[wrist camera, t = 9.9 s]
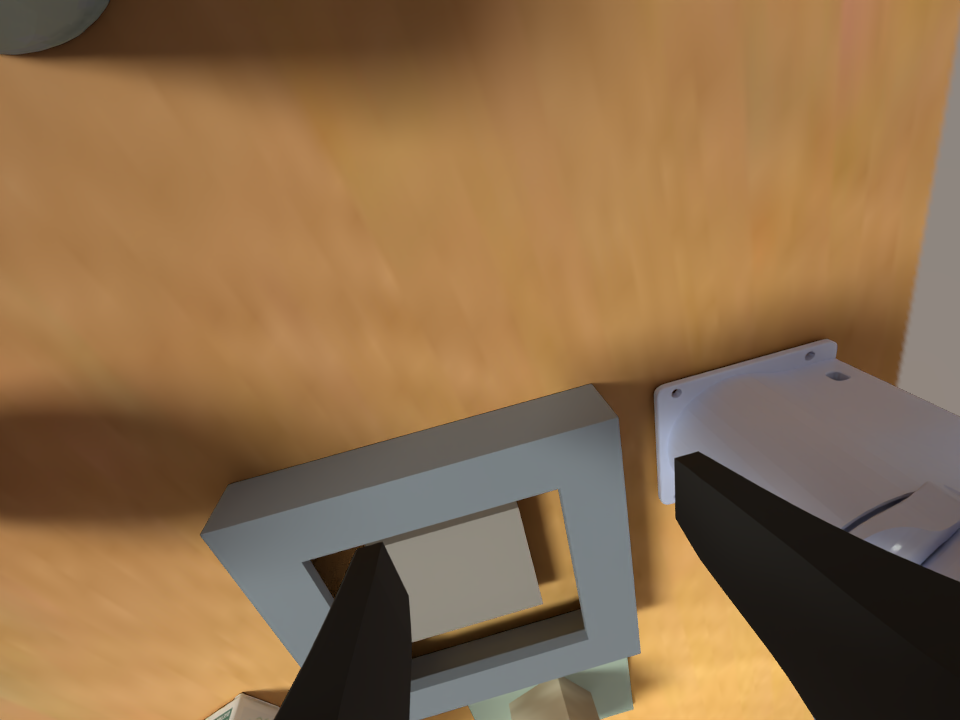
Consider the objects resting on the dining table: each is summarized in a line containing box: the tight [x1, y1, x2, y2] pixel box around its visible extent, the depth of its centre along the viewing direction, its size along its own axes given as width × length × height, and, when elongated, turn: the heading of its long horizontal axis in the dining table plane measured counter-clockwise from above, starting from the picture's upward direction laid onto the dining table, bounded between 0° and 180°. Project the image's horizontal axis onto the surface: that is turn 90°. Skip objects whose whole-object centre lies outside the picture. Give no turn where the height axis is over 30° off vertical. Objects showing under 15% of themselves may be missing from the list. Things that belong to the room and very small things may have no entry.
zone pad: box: [468, 658, 633, 720], centre depth 32 cm, size 12×10×1 cm
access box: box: [200, 384, 641, 720], centre depth 23 cm, size 18×18×3 cm
